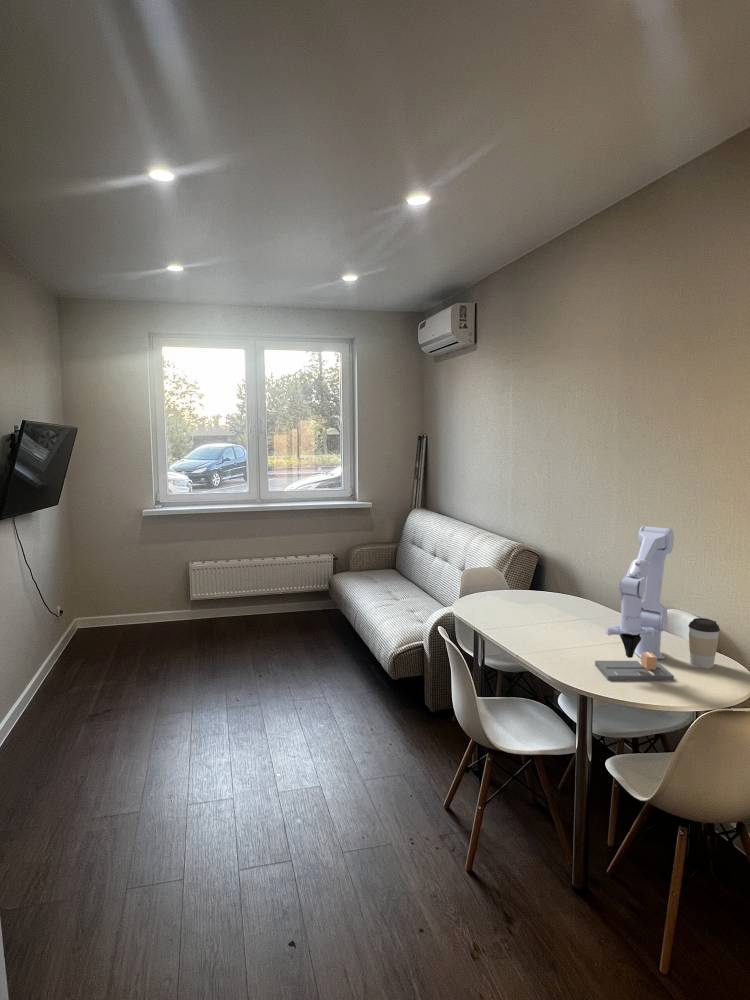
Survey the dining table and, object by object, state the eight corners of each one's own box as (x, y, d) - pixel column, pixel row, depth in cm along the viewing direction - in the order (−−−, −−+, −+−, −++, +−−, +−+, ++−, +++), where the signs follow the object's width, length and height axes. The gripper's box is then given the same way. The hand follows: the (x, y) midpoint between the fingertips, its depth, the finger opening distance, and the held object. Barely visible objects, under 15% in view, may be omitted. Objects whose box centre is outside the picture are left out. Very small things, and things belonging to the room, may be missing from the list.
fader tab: (641, 664, 192) (641, 651, 192) (650, 664, 192) (651, 652, 192) (646, 669, 188) (647, 656, 188) (656, 669, 188) (656, 656, 188)
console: (595, 665, 197) (595, 660, 197) (656, 665, 196) (657, 660, 196) (608, 680, 185) (608, 675, 185) (673, 680, 184) (674, 675, 184)
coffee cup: (684, 666, 196) (687, 621, 194) (688, 657, 203) (690, 614, 201) (716, 672, 191) (719, 626, 189) (718, 662, 198) (721, 618, 196)
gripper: (612, 619, 185) (610, 661, 186) (659, 619, 184) (657, 661, 186) (604, 612, 192) (602, 652, 193) (650, 611, 191) (648, 652, 193)
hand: (629, 656), depth 190 cm, fingers closed
